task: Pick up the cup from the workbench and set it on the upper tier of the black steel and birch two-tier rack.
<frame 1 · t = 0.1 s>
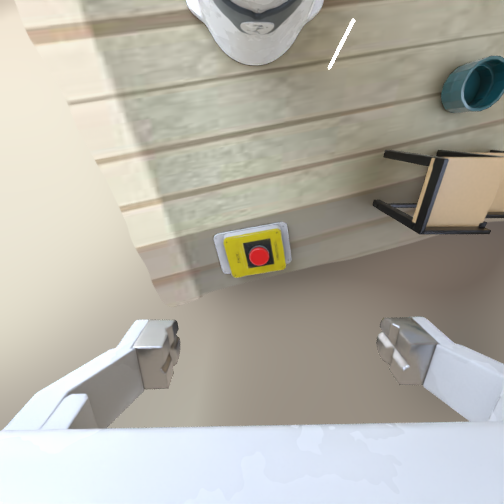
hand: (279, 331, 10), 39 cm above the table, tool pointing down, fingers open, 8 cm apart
cup: (460, 89, 39), on the table
emergency button: (253, 247, 51), on the table
rack: (431, 179, 45), on the table
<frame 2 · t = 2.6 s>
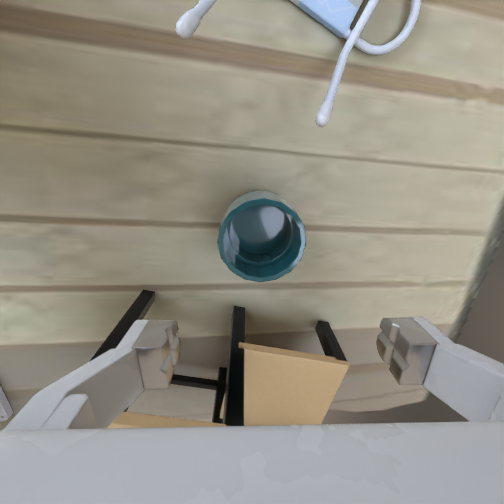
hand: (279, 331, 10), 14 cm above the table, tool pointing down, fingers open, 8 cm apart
cup: (259, 226, 23), on the table
wall mount rack: (297, 5, 17), on the table
rack: (230, 342, 28), on the table
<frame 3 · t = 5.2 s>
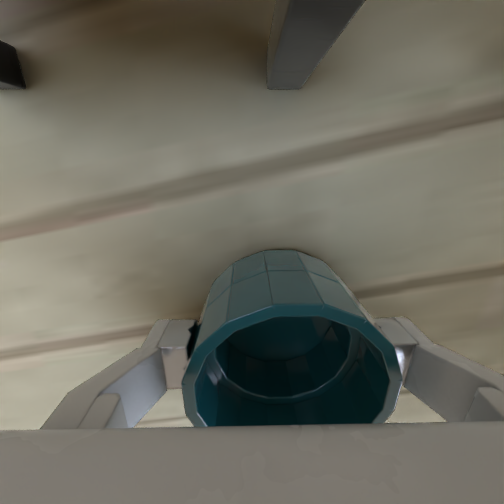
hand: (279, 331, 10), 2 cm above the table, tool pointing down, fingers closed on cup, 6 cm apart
cup: (275, 310, 12), on the table, touching gripper
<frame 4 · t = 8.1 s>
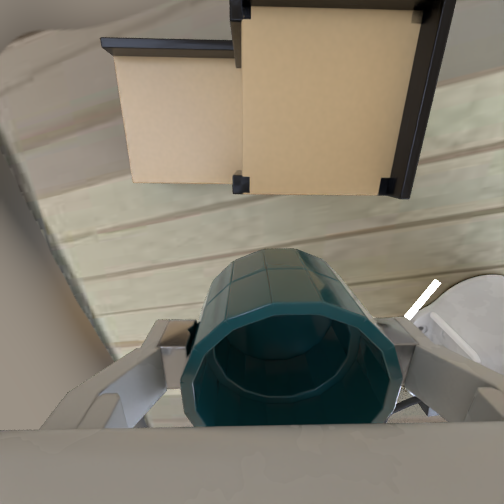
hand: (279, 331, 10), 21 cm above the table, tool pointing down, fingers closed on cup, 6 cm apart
cup: (275, 309, 12), point 19 cm above the table, touching gripper
rack: (244, 130, 26), on the table
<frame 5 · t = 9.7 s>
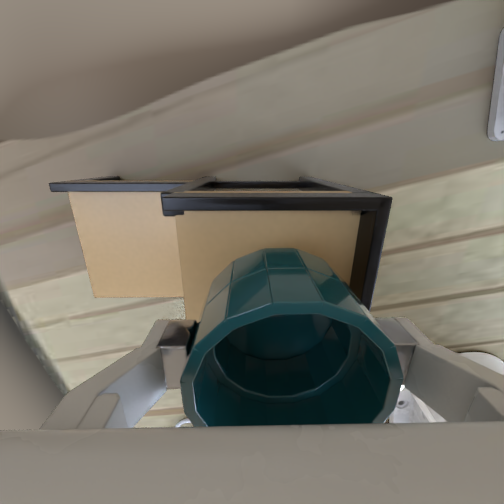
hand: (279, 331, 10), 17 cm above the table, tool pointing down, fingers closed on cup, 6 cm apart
cup: (275, 309, 12), point 15 cm above the table, touching gripper
rack: (212, 226, 26), on the table
when the fingers open (15 cm above the table, at t = 11.0 s): cup stays where it is, resting on rack.
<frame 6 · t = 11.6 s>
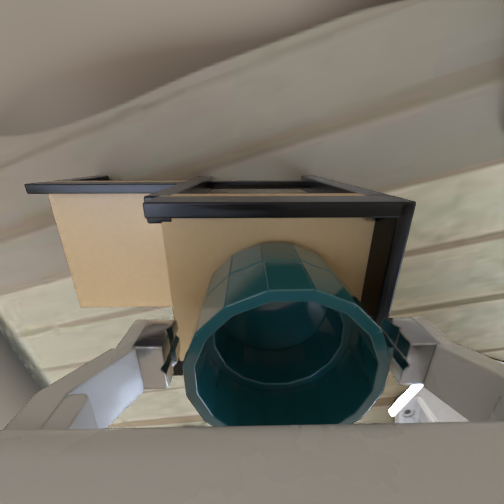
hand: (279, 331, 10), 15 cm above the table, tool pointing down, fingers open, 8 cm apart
cup: (272, 301, 12), point 13 cm above the table, touching rack
rack: (208, 228, 24), on the table
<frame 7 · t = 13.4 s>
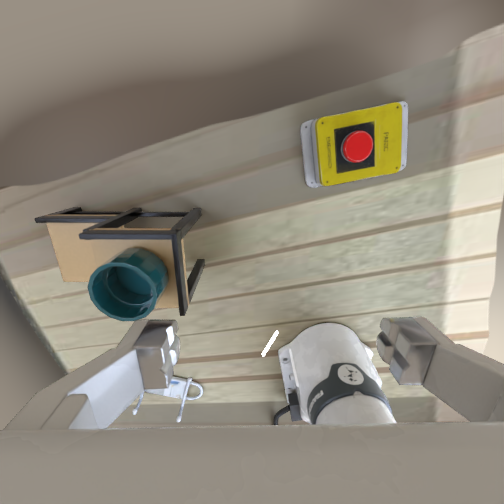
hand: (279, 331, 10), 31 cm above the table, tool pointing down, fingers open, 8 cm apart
cup: (141, 273, 29), point 13 cm above the table, touching rack
wall mount rack: (168, 374, 51), on the table
emergency button: (352, 147, 36), on the table
rack: (142, 237, 41), on the table
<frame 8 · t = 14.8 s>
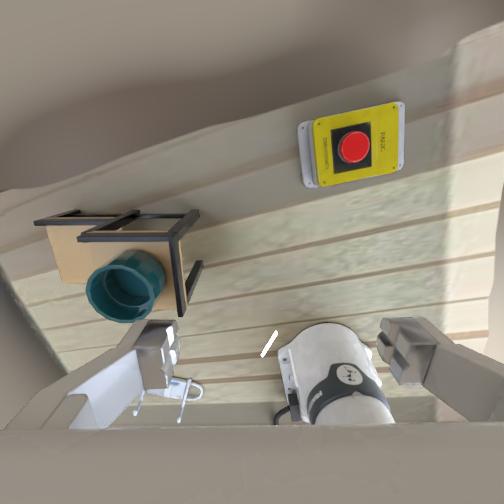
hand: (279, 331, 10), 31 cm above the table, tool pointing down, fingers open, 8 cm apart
cup: (139, 275, 29), point 13 cm above the table, touching rack
wall mount rack: (168, 375, 52), on the table
emergency button: (349, 147, 36), on the table
rack: (141, 239, 41), on the table
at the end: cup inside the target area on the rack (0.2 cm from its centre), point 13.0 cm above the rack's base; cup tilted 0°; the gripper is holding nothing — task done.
